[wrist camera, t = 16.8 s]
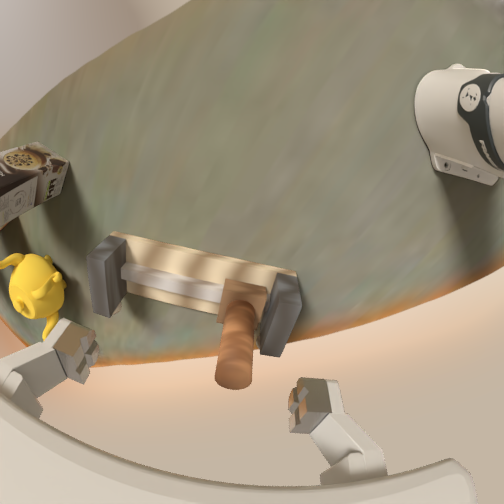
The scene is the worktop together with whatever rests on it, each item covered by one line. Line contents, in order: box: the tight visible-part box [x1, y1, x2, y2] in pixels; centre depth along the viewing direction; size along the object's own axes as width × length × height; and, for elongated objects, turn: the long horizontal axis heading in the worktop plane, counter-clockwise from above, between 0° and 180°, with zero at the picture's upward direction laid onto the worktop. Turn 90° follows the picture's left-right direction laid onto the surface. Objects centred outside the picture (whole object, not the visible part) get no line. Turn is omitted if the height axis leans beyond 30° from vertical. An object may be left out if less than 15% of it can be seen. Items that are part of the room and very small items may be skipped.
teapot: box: [0, 253, 67, 341], centre depth 39 cm, size 20×15×12 cm
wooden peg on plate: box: [215, 278, 267, 390], centre depth 34 cm, size 6×6×16 cm
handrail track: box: [86, 231, 302, 357], centre depth 39 cm, size 30×11×8 cm, turn 77°
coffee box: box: [0, 142, 69, 227], centre depth 27 cm, size 9×6×16 cm
